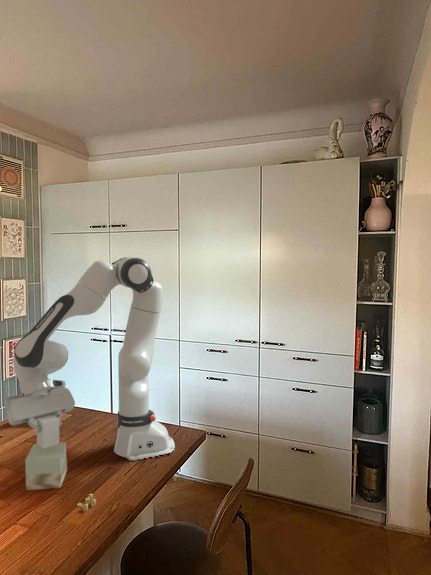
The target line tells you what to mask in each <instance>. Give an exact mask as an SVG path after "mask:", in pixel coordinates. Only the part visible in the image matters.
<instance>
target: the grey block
mask: <svg viewBox="0 0 431 575" xmlns="http://www.w3.org/2000/svg"><path fill="white" fill-rule="evenodd" d="M37 425H40V426H41V432H39V433H36V444H39V445H40V446H41V447H42V448H43V449H44V448H47V447H50V446H53V445H57V444H59V443H60V427H59V418H58V417H56V416H55V415H53V414H52V415H48V416H45V417H41V418H37Z"/></svg>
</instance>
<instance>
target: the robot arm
mask: <svg viewBox="0 0 431 575" xmlns="http://www.w3.org/2000/svg"><path fill="white" fill-rule="evenodd" d="M119 285H120V286H123V287H126V288H130V289H131V290H132V301H131V305H130V309H129V313H128V318H127V322H126V326H125V334H124V339H123V345H122V347H121V348H120V350H119V352H118V359H117V362H118V363H117V364H118V365H117V366H118V370H117V371H118V376H117V377H118V411H117V414H116V426H117V433H116V439H115V445H114V448H113V452H114V453H115V454H116V455H118V456H120V457H123V458H126V459H127V460H128V461H132V460H133V461H139V460H145V459H144V458H146V459H150V458H149V457H152V458H156V457H155V456H158V457H160V456H159V455H164V454H168V453H171V452H172V451H173V450H174V451H175V449H176V446H175V444H176V443H175V441H174V439H173V438H172V437H171V436H169V435H170V434H169V432H168V429H167V428H166V427H165V425H163V424H162V423H160V422H159V421H157V420H156V419H157V418H156V415H155V412H154V410H153V409H150V405H149V404H150V387H149V386H150V385H149V373H150V371H151V366H152V362H153V356H154V355H153V354H154V349H155V342H156V341H155V340H156V334H157V330H158V325H159V320H160V317H161V316H160V315H161V311H162V306H163V298H164V296H163V295H164V292H163V291H164V289H163V286H162V285H161V283H159V282H158V281H156V280H154V276H153V273H152V269H151V266H150V265H149V263H148V262H147V261H145V259H143V258H140V257H139V258H138V257H135V256H126V257H122V258H121V257H120V258H119V259H117V260H116V261H114V262H112V263H110V262H109V261H105V260H97V261H94V262H93V263H92V264H91V265H90V266H89V267H88V268H87V269H86V271H85V272H84V273H83V275H82V276H81V277H80V279H79V280H78V282H77V283H76V284H75V285H74V287H73V288H72V289H71V290H70V291H68V293H66V294H65V295H61V296H59V298H57V300H55V301H54V302H53V304H52V305H51V306H50V307H49V308H48V310H47V311H46V312H45V313H44V315H43V316H41V318H39V320H38V321H37V322H36V324H35V325H33V327H32V328H31V330H29V331H28V332H27V333H26V334H25V335H24V336H22V337H21V338H20V339H19V340H18V341H17V343H16V345H15V346H14V351H13V353H14V355H13V360H12V361H13V362H12V363H13V369H14V372H15V376H16V378H17V380H18V381H19V388H20V391H21V393H19V394H15V395H10V396H9V395H8V396H7V398H5V399H4V401H3V403H4V408H5V410H7V418H8V419H7V420H8V423H9V425H11V426H16V425H21V424H25V423H27V424H28V426H29V427H30V428H32V429H33V430H34V433H35V434H37V433H39V432H41V426H40V425H37V424H36V423H35V422H34V421H35V420H37V418H41V417H45V416H48V415H52V414H53V415H54V416H56V417H57V418H59V428H60V427H62V425H63V422H62V420H61V419H62V416H63V413H64V414H65V413H67V412H72V411H73V410H74V408H75V405H76V401H75V399H74V396H73V395H72V392H71V391H70V389H69V388H67V387H66V385H67V384H66V381H65V380H63V379H62V380H61V379H52V378H48V377H49V376H48V375H51V374H53V373H55V372H58V371H59V370H61V369H63V367H65V366H66V364H67V362H68V359H69V350H68V348H67V346H66V345H64V344H62V343H60V342H57V341H54V340H50V338H51V336H52V335H54V333H55V332H56V330H57V329H58V328H59V327H60V325H61V324H62V323H63V322H65V320H67V319H69V318H72V317H76V316H87V315H89V316H90V315H92V314H94V313H96V312H97V311H99V309H101V307H102V306H103V304H104V303H105V301H106V300H107V298H108V296H109V295H110V294H111V291H113V289H114V288H115V287H117V286H119ZM174 448H175V449H174ZM164 456H165V455H164ZM138 459H139V460H138Z"/></svg>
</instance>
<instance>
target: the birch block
mask: <svg viewBox="0 0 431 575" xmlns="http://www.w3.org/2000/svg"><path fill="white" fill-rule="evenodd" d="M67 472H68V457H67V456H66V458H65V461H64V464H63V467H62V470H61V472H60V473H49V474H37V475H26V474H25V491H33V490H45V489H46V490H47V489H60V488H62V485H63V483H64V480H65V477H66V474H67Z"/></svg>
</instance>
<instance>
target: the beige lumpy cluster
mask: <svg viewBox="0 0 431 575" xmlns="http://www.w3.org/2000/svg"><path fill="white" fill-rule="evenodd" d="M84 499H85V500H84V504H82V502H79V503H77V505H76V507H81V508H82V511H83V512H87V511H88V510H89V504H90V506H91V507H93V508H94V507H95V506H97V499H96V498H94V496H93V493H88V494H87V497H86V498H84Z"/></svg>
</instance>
